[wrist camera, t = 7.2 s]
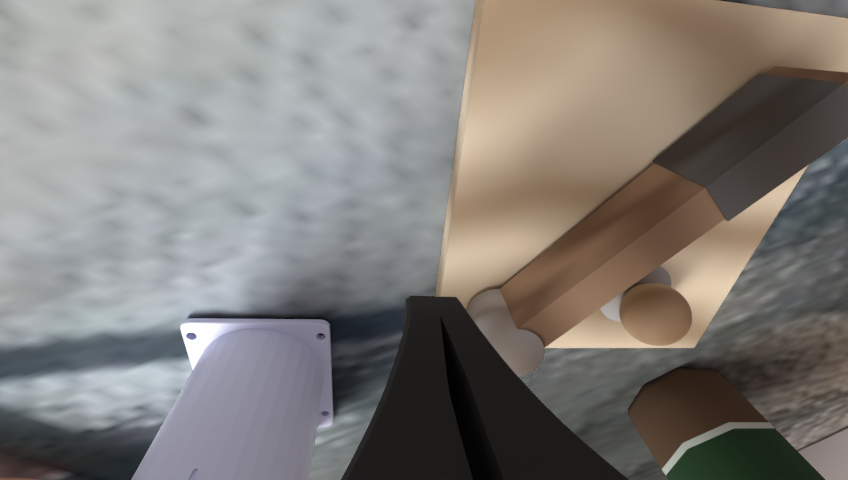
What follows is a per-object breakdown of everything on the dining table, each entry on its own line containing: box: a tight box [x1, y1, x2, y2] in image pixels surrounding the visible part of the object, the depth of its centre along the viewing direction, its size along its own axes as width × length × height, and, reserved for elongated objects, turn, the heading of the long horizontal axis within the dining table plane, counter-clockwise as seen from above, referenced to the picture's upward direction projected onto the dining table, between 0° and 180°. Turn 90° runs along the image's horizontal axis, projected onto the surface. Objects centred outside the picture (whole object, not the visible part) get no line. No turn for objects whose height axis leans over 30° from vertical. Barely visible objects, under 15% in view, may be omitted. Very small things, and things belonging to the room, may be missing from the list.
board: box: [435, 0, 848, 348], centre depth 17 cm, size 18×17×5 cm
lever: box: [466, 66, 848, 378], centre depth 17 cm, size 18×3×3 cm, turn 136°
